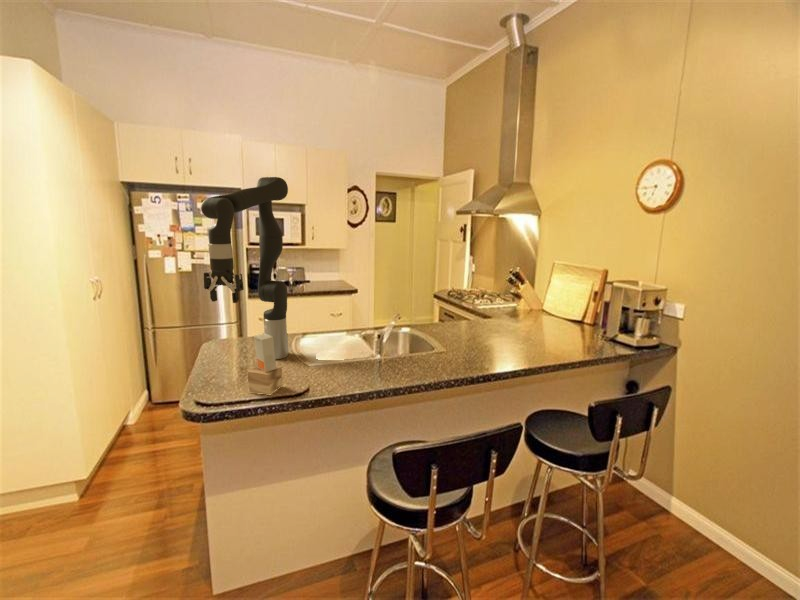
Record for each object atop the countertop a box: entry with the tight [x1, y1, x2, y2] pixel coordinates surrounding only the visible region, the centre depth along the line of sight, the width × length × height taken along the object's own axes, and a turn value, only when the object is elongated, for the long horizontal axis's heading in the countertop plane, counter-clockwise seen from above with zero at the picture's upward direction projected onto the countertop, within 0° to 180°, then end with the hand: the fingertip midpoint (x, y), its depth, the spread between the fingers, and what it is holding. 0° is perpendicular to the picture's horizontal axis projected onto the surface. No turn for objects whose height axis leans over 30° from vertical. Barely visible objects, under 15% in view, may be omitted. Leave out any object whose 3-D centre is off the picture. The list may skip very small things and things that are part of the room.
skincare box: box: [253, 332, 277, 372], centre depth 137 cm, size 6×4×12 cm
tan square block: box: [247, 365, 283, 386], centre depth 139 cm, size 8×8×4 cm
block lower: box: [248, 376, 283, 394], centre depth 140 cm, size 8×8×4 cm
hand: (224, 301), depth 142 cm, fingers open, 8 cm apart
